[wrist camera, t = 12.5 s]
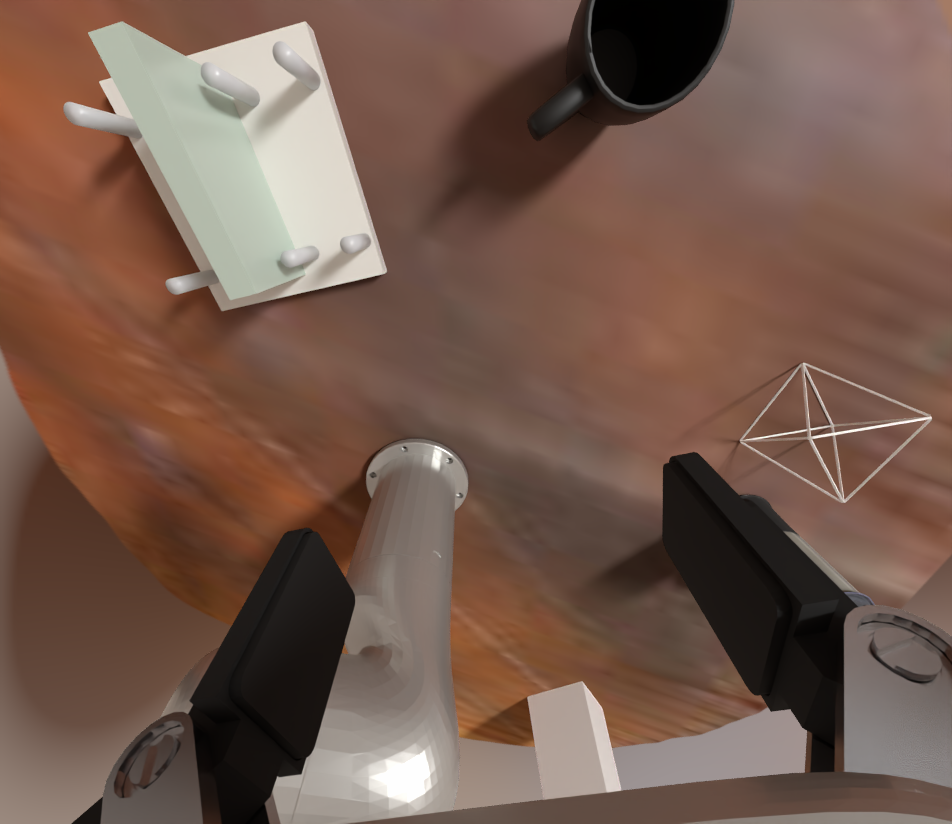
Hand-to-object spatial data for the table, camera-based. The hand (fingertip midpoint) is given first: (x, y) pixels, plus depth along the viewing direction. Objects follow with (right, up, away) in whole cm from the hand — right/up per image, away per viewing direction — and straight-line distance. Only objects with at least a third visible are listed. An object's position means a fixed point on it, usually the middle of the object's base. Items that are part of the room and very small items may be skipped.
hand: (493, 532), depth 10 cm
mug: (+8, +28, +19) cm, 35 cm away
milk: (+18, -55, +65) cm, 87 cm away
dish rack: (-18, +22, +22) cm, 36 cm away
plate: (-18, +21, +20) cm, 35 cm away
